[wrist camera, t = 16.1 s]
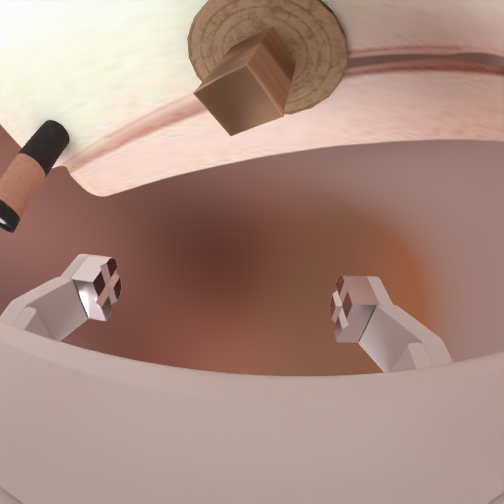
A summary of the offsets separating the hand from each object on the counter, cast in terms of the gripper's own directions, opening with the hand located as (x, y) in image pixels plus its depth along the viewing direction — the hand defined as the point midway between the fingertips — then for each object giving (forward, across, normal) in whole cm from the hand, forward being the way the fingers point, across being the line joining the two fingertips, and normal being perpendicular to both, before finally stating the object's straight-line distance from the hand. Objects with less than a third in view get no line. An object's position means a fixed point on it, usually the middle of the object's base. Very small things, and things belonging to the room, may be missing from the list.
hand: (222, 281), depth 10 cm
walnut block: (+21, +1, +11) cm, 24 cm away
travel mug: (+37, -37, +2) cm, 52 cm away
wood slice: (+24, +1, +12) cm, 27 cm away
